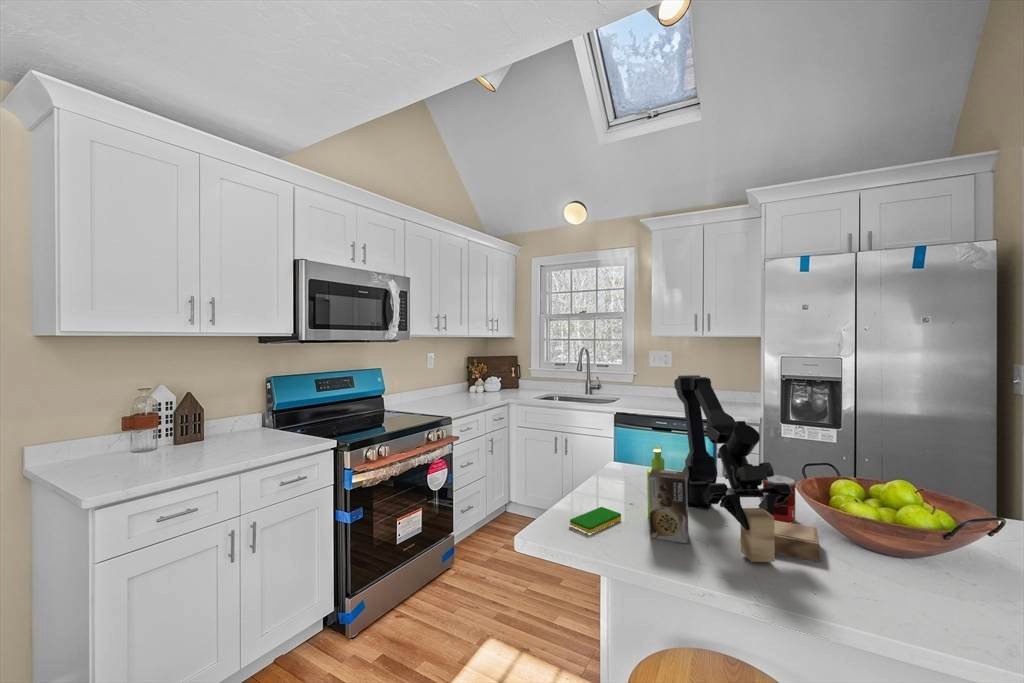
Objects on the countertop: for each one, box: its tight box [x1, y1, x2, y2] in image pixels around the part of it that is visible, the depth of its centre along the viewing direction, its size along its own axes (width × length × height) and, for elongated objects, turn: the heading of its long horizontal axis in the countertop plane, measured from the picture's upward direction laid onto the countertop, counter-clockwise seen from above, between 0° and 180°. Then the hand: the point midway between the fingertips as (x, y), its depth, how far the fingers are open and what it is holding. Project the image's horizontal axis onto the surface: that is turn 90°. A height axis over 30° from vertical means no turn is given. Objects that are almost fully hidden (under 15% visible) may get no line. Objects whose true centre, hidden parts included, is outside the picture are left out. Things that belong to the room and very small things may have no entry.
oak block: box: [740, 507, 776, 563], centre depth 101 cm, size 5×5×10 cm
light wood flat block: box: [774, 520, 821, 563], centre depth 107 cm, size 10×10×4 cm
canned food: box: [762, 474, 796, 523], centre depth 124 cm, size 8×8×11 cm
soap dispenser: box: [646, 445, 666, 519], centre depth 125 cm, size 6×7×20 cm
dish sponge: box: [569, 506, 622, 533], centre depth 122 cm, size 7×14×2 cm, turn 130°
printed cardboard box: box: [648, 468, 690, 544], centre depth 114 cm, size 9×6×16 cm
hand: (760, 529), depth 100 cm, fingers closed on oak block, 5 cm apart
